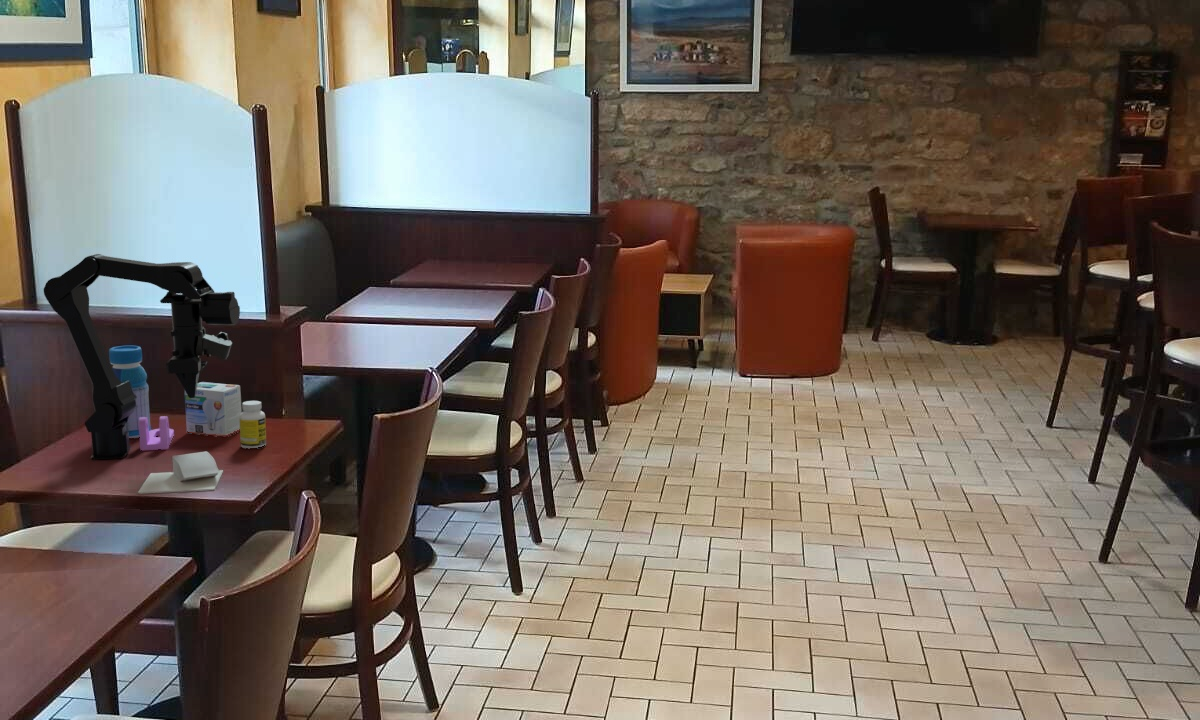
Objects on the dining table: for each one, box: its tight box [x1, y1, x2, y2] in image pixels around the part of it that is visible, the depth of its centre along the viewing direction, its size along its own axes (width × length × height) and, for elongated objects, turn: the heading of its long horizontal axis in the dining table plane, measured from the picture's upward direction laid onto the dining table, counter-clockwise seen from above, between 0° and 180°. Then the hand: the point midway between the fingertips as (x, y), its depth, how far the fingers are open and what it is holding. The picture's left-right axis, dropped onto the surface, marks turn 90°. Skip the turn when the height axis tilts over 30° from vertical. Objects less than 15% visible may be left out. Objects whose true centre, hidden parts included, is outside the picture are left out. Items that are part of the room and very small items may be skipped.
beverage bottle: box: [108, 345, 152, 439], centre depth 257 cm, size 8×8×20 cm
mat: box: [137, 469, 224, 495], centre depth 226 cm, size 14×12×1 cm
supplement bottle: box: [239, 400, 267, 450], centre depth 250 cm, size 5×5×10 cm
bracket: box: [139, 415, 175, 451], centre depth 253 cm, size 13×6×7 cm, turn 13°
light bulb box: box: [183, 381, 243, 435], centre depth 261 cm, size 11×7×11 cm, turn 73°
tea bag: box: [171, 450, 220, 482], centre depth 228 cm, size 4×7×10 cm
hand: (192, 397), depth 240 cm, fingers closed
